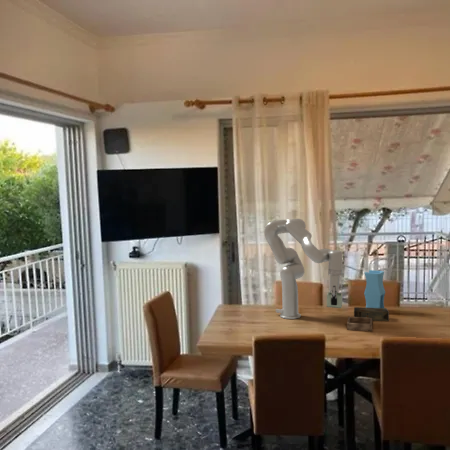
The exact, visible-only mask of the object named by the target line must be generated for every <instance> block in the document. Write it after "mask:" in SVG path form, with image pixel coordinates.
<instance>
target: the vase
mask: <svg viewBox="0 0 450 450" xmlns="http://www.w3.org/2000/svg"><path fill="white" fill-rule="evenodd" d="M384 275H385V271H384V270H375V269H374V270H373V269H369V270H368V271H364V277H365V280H366V281H365V282H366V285H365V289H364V292H363V293H364V294H363V295H364V298H365V304H366V305H365V308H385V295H386V290H385V286H384V283H383V280H384Z"/></svg>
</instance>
